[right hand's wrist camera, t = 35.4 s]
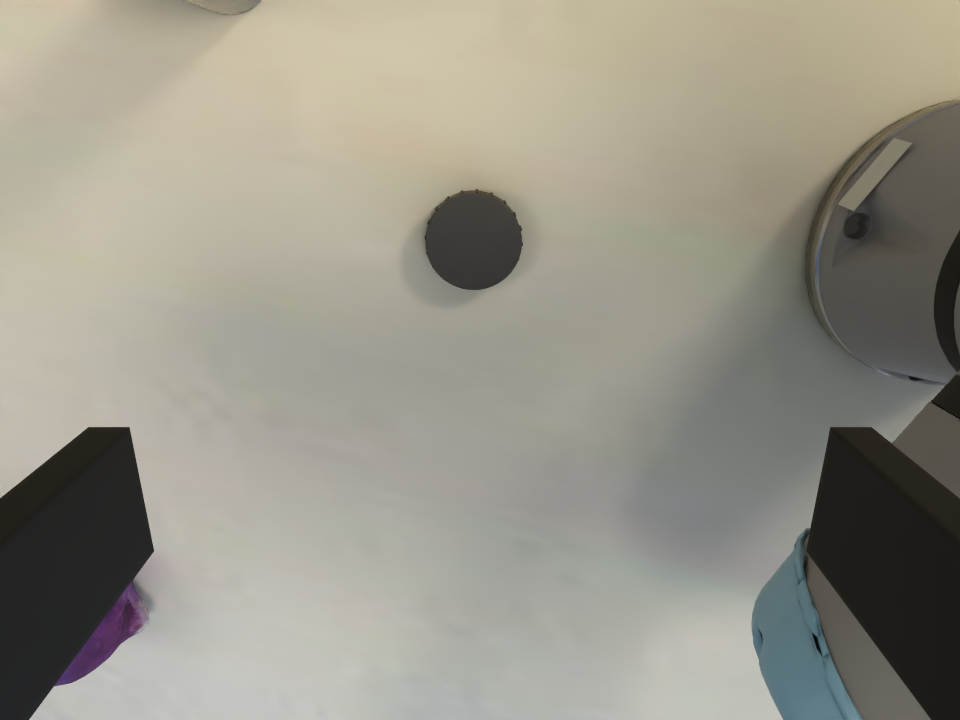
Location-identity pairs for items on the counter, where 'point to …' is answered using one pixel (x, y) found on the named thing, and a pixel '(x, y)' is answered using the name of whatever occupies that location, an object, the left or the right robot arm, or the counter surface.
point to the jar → (226, 5)
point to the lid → (473, 240)
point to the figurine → (109, 635)
